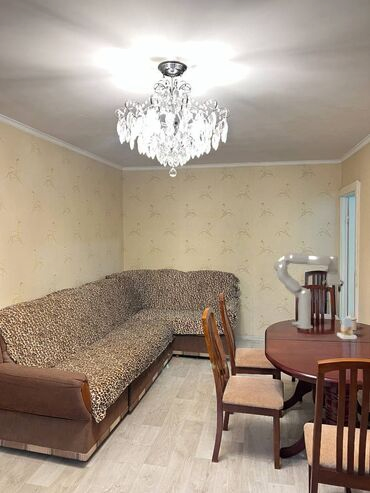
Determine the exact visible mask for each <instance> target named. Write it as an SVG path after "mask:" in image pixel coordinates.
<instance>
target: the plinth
mask: <svg viewBox="0 0 370 493" xmlns="http://www.w3.org/2000/svg"><path fill="white" fill-rule="evenodd" d="M336 336H337V337H339V338H340V339H341V340H357V339H358V336H357V335H356V334H354V333H353V335H348V336H344V335H343V334H341V332H336Z"/></svg>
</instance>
